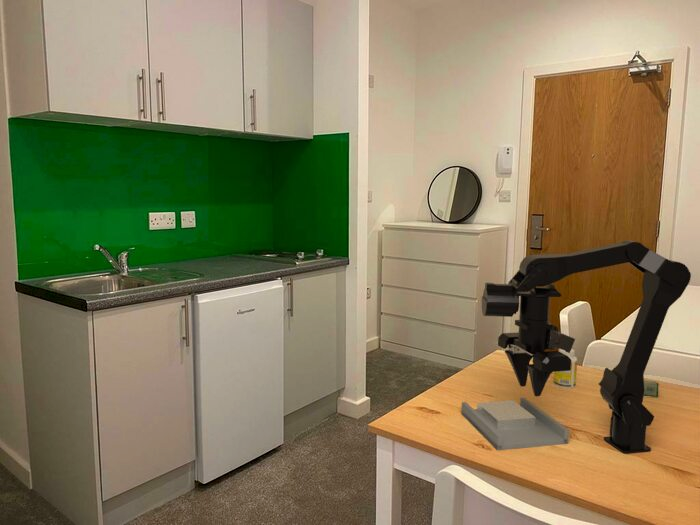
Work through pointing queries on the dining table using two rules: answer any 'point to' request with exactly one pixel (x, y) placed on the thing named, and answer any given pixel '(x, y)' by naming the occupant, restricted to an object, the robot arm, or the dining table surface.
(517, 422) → the cover plate
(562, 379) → the supplement bottle
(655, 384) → the medication box
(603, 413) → the dining table surface
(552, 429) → the slide box
